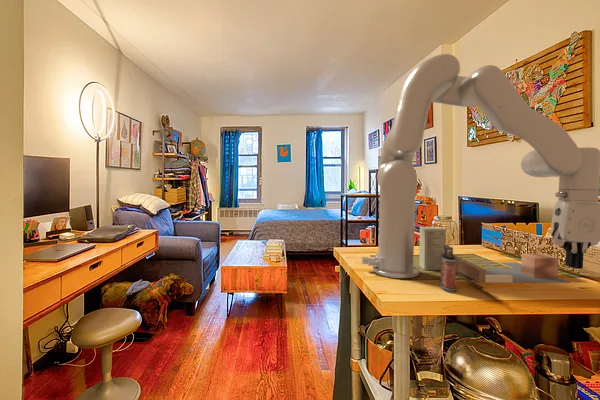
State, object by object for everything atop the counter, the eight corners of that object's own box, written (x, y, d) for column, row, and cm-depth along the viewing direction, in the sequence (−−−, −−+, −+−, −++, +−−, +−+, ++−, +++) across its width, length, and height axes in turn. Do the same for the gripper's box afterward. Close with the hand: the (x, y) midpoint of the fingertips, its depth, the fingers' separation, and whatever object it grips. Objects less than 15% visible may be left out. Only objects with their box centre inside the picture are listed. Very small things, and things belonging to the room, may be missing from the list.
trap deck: (478, 288, 72) (479, 270, 72) (443, 267, 90) (443, 252, 90) (570, 288, 72) (571, 270, 71) (516, 267, 90) (517, 252, 89)
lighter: (458, 293, 69) (460, 250, 68) (442, 292, 70) (443, 249, 69) (452, 282, 76) (453, 243, 76) (437, 281, 77) (438, 242, 77)
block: (533, 277, 75) (534, 258, 75) (520, 272, 80) (521, 253, 79) (557, 277, 75) (558, 258, 75) (543, 272, 80) (544, 253, 79)
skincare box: (438, 266, 91) (440, 226, 90) (445, 270, 87) (447, 228, 86) (418, 266, 91) (419, 226, 90) (424, 270, 87) (425, 228, 86)
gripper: (560, 197, 73) (557, 271, 74) (622, 197, 72) (618, 271, 73) (536, 196, 80) (533, 263, 81) (592, 196, 80) (589, 263, 81)
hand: (573, 267), depth 77 cm, fingers closed
